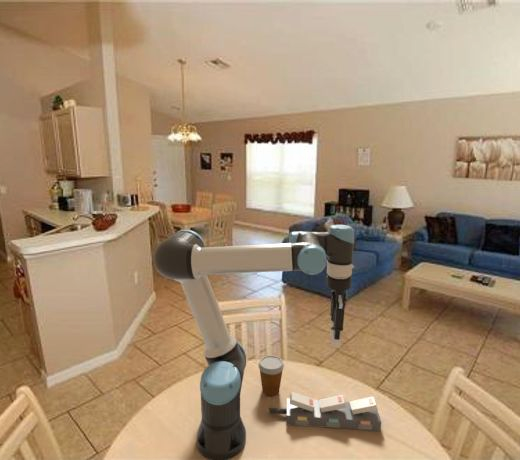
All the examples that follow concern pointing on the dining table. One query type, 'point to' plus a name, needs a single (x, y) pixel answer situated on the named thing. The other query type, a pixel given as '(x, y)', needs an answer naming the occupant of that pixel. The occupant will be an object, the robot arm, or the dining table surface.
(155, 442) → the dining table surface
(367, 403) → the cream rocker switch
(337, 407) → the cream switch plate
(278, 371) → the disposable coffee cup
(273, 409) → the power strip
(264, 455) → the dining table surface
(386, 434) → the dining table surface
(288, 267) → the robot arm
